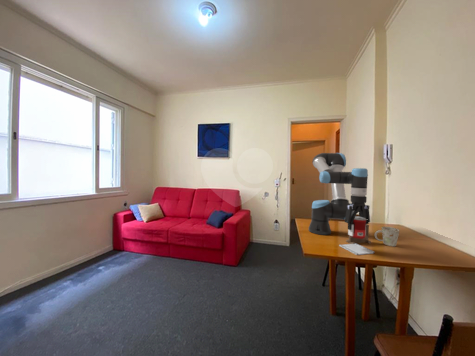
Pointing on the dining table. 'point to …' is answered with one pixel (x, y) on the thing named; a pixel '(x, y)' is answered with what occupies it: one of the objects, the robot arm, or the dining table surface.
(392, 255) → the dining table surface
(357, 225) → the canned food
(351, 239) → the brown block
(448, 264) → the dining table surface
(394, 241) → the mug
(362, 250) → the mat
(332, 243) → the dining table surface
